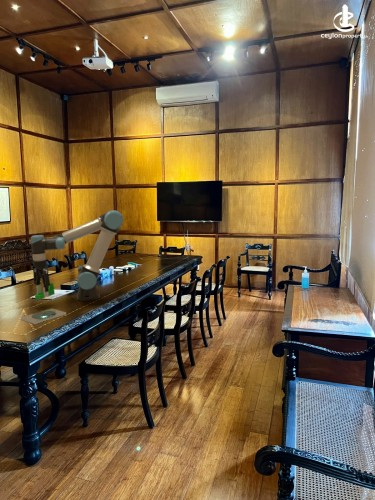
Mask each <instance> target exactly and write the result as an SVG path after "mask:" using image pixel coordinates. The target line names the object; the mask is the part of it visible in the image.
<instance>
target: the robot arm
mask: <svg viewBox="0 0 375 500" xmlns="http://www.w3.org/2000/svg"><path fill="white" fill-rule="evenodd" d="M123 224H124V216H123V215H122V213H121V212H120V211H118V210H114V209H109V210H108V211H106V212H104V213H103V214H101V215H98V216H97V218H96V219H93V220H90V221H88V222H86V223H83V224H81V225H78V226H76V227H73V228H70V229H69V230H66V231H64V232H61V233H59V234H55V235H53V236H52V237H44V234H39V235H37V234H36V235H32V236H31V237H30V245H31V246H30V247H31V254H32V264H33V267H34V268H33V269H32V271H33V272H32V273H33V276H32V277H33V284H34V285H35V286H36V294H38V293H41V292H44V297H45V298H48V297H50V296H49V293H48V286H49V287H50V283H51V281H50V276H49V275H50V274H49V270H48V269H46V266H47V259H46V251H52V250H53V251H55V250H64V249H65V247H66V244H69V243H72V242H73V241H76V240H78V239H81V238H83V237H86V236H88V235H91V234H93V233H95V232H98V231H100V233H99V235H98V237H97V239H96V242H95V244H94V246H93V249H92V251H91V253H90V255H89V258H88V260H87V262H86V264H83V265H79V266H77V267H78V268H77V272H78V274H77V279H76V280H77V281H76V282H77V285H78V291H77V294H76V300H78V301H80V302H90V301H91V302H92V301H95V300H99V299H100V298H101V296H100V293H99V289H98V286H97V281H98V277H99V276H100V273H101V271H100V268H101V265H102V263H103V261H104V259H105V256H106V254H107V252H108V249H109V247H110V245H111V243H112V241H113V238H114V236H115V235H117V234H118V232H119V231H120V228H121V227H122V226H123ZM41 281H42V283H43V286H42V283H41ZM42 288H43V289H42ZM42 290H43V291H42Z"/></svg>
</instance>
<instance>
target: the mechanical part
mask: <svg viewBox="0 0 375 500" xmlns="http://www.w3.org/2000/svg"><path fill="white" fill-rule="evenodd" d="M48 293H49V296H48V297H50V296H53V295H55V285H54V283H52V282H50V286H48ZM45 298H46V297H44V291H42V292H41V293H38V294H37V293H36V294H34V299H36V300H41V299H45Z"/></svg>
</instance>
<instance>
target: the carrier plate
mask: <svg viewBox="0 0 375 500" xmlns="http://www.w3.org/2000/svg"><path fill="white" fill-rule="evenodd" d="M65 315H67V312H65V311H62V310H59V309H55V308H49V309H46V310H42V311H39V312H35V313H31V314H28V315H26V316H22V317H20V319H21V320H22V321H25V322H27V323H30V324H33V325H37V324H39V323H42V322H43V321H44V322H46V320H47V321H50V320H52V319H55V318H60V317H62V316H65Z"/></svg>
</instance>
